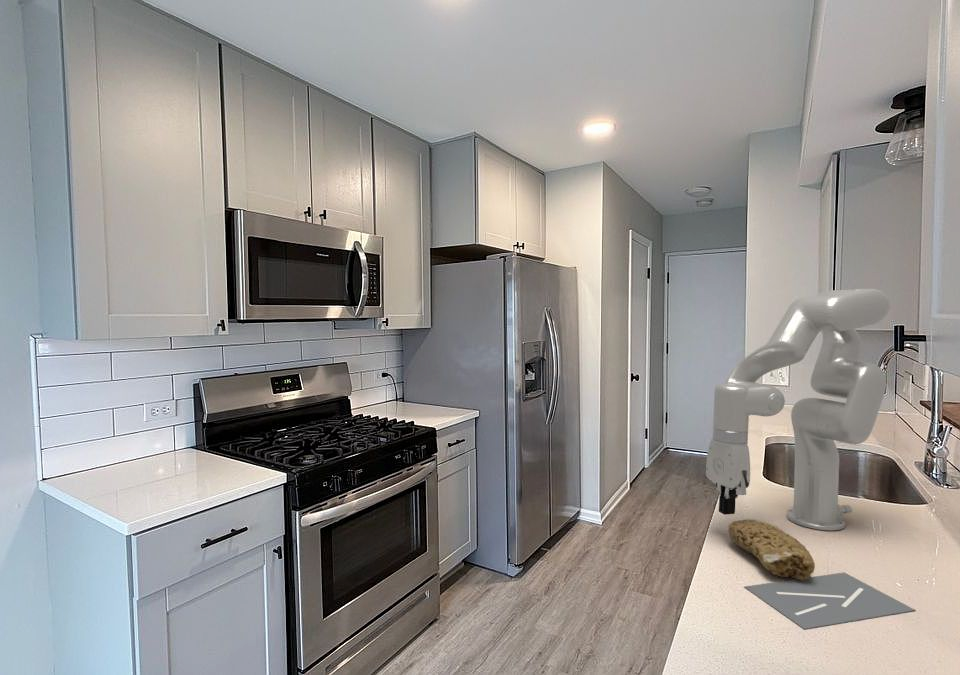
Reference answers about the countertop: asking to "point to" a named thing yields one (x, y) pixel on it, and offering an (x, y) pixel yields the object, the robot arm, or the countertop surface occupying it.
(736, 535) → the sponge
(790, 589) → the mat
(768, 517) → the countertop surface
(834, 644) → the countertop surface
